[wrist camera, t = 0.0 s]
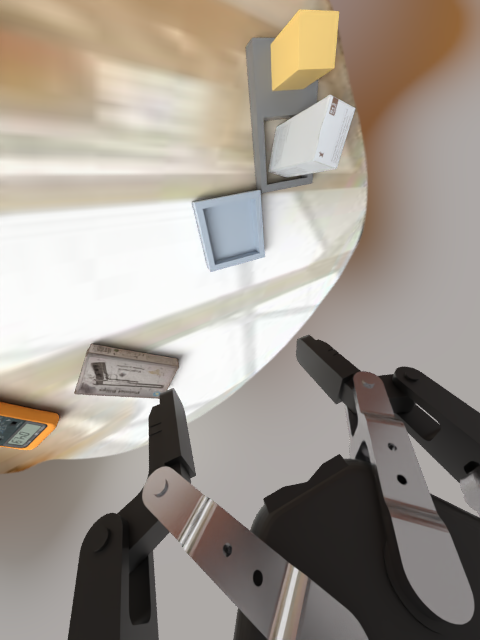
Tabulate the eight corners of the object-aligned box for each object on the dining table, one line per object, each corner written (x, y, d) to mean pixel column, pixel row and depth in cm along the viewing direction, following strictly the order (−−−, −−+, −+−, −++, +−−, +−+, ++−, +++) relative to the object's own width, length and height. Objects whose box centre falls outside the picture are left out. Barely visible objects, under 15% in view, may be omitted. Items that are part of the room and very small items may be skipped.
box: (163, 389, 50) (163, 399, 48) (77, 383, 41) (72, 395, 38) (179, 356, 47) (181, 366, 44) (89, 342, 37) (86, 352, 35)
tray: (191, 202, 32) (194, 202, 30) (253, 190, 35) (260, 190, 33) (207, 267, 38) (210, 271, 36) (259, 253, 41) (264, 256, 39)
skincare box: (287, 178, 36) (338, 172, 26) (265, 171, 34) (312, 163, 24) (297, 132, 33) (359, 108, 23) (274, 123, 31) (331, 92, 21)
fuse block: (245, 47, 26) (277, -1, 19) (310, 46, 28) (358, 4, 22) (256, 193, 35) (281, 192, 29) (305, 183, 37) (337, 181, 31)
